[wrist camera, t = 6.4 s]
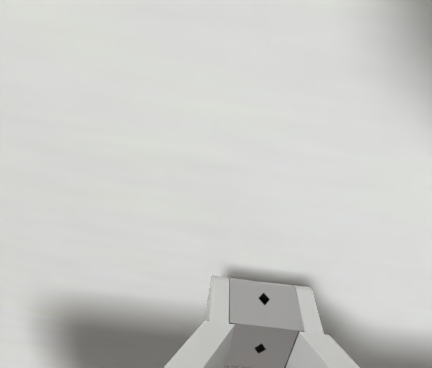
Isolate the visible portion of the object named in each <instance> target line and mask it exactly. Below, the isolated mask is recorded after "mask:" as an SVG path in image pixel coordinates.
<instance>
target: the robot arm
mask: <svg viewBox="0 0 432 368" xmlns="http://www.w3.org/2000/svg"><path fill="white" fill-rule="evenodd" d="M225 366H233V367H246V368H360V367H359V366H358V365H357V364H356V363H355V362H354V361H353V360H352V359H351V358H350V357H349V355H348V354H347V353H346V352H345V351H344V350H343V349H342V348H341V347H340V346H339V345H338V344H337V343H336V342H335V340H334V339H333V338H332V337H331V336H330V335H326V334H324V331H323V328H322V324H321V320H320V316H319V313H318V309H317V305H316V301H315V298H314V294H313V290H312V289H311V288H310V287H305V286H296V285H294V286H293V285H286V284H277V283H268V282H257V281H250V280H243V279H236V278H227V277H220V276H213V275H212V277H211V282H210V288H209V294H208V300H207V307H206V315H205V321H203V323H202V324H201V325H200V326H199V327H198V328H197V329H196V331H195V332H194V333H193V334H192V335H191V336H190V338H189V339H188V340H187V341H186V342H185V343H184V344H183V346H182V347H181V348H180V349H179V350H178V351H177V353H176V354H175V355H174V356H173V357H172V358H171V360H170V361H169V362H168V363H167V364H166V365H165V366H164V368H225Z"/></svg>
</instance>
